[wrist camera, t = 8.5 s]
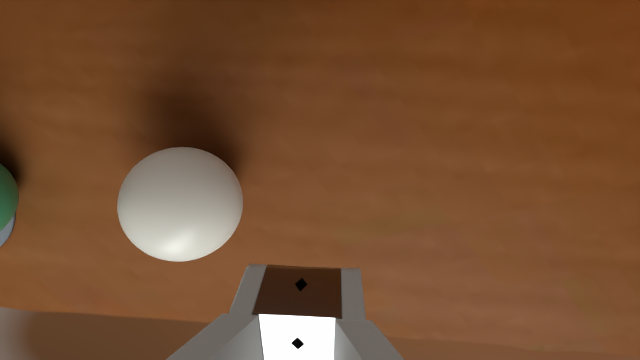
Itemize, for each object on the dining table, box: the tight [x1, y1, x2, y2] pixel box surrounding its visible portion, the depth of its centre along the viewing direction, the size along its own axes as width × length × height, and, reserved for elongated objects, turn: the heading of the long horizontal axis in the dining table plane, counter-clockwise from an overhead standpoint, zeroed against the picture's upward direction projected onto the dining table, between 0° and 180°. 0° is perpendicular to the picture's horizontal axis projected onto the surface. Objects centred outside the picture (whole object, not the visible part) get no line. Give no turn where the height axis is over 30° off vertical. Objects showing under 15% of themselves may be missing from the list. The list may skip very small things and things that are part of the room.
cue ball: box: [117, 147, 243, 261], centre depth 15 cm, size 6×6×6 cm
